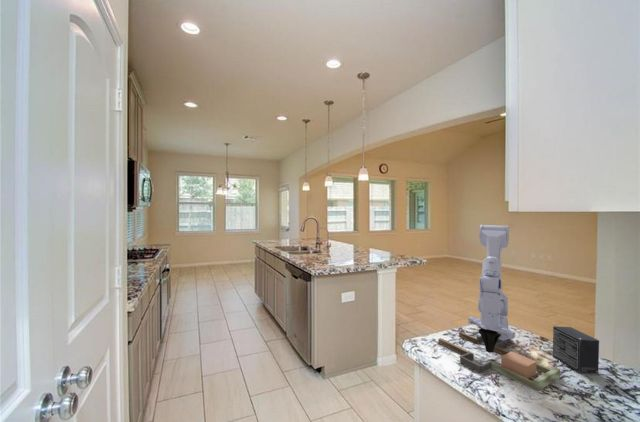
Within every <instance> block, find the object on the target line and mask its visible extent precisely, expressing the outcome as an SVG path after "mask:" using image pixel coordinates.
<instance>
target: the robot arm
mask: <svg viewBox="0 0 640 422" xmlns="http://www.w3.org/2000/svg"><path fill="white" fill-rule="evenodd" d="M478 232H479V239H480V245H481V246H483V247H485V248H486V257H485V258H484V259H483V260H482V266H481V267H482V269H481V276H479V280H478V281H479V283H478V284H479V285H478V286H479V293H478V300H477V301H478V302H477V303H478V305H477V309H478V311H479V313H480V318H478V317H477V318H476V317H473V316H470V317H468V318H467V323H468V324H470V325H474V326H477V327H480V329H478V333H477V335H476V337H478V336H481V337H482V339H483V341H484V344H485V345H484V348H485V351H486V352H487V353H489V354H491V353H493V352H495V351H494V347H495V344H496V342H497V340H498V339H500V340H502V341H504V342H505V341H508V340H513V339H515V338H516V332H515V331H513V330H510V329H509V319H508V318H507V317H508V315H509V314H508V312H509V301H508V296H507V294H506V293H504V292H503V278H502V277H503V276H502V261H501V252H502V250H503V249H505V248H508V247H509V246H508V245H509V241H510V238H509V237H510V227H509V226H508V225H493V224H492V225H490V224H480V225H479V231H478Z"/></svg>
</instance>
